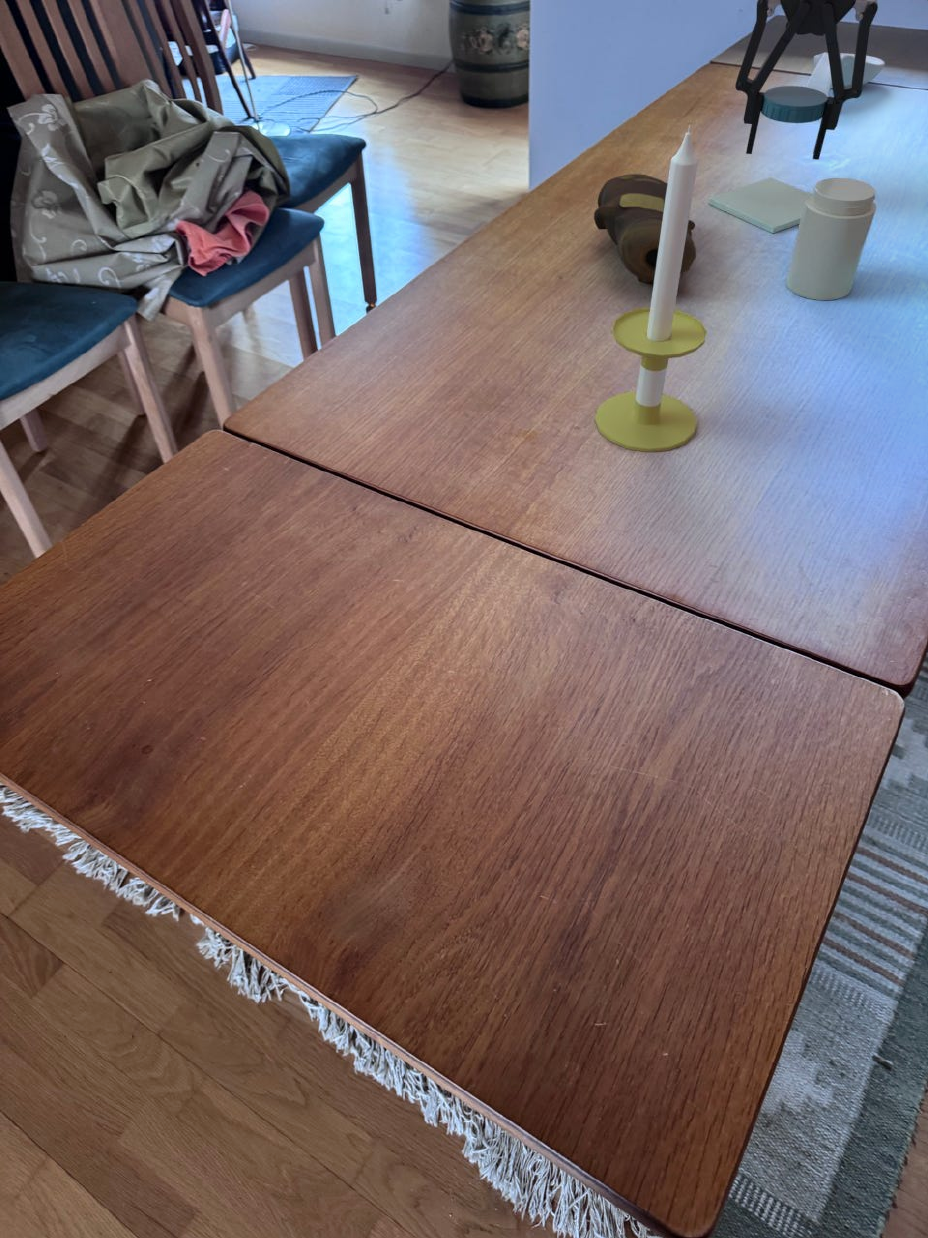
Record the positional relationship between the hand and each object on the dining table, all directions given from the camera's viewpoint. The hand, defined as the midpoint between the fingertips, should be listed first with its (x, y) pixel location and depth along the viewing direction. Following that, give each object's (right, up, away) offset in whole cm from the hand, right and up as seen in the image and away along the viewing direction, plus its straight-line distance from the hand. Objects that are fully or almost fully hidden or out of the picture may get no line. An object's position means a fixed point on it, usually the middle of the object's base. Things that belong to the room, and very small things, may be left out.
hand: (782, 152), depth 115 cm
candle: (-24, -42, -28) cm, 56 cm away
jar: (0, -21, -10) cm, 24 cm away
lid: (0, +4, -5) cm, 6 cm away
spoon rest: (+22, +29, +36) cm, 51 cm away
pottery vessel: (-20, -16, -5) cm, 26 cm away
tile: (0, -5, +5) cm, 7 cm away
